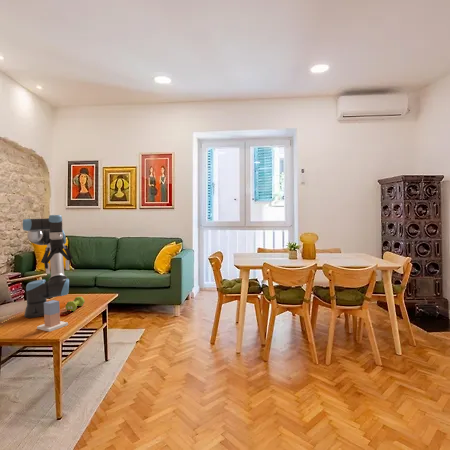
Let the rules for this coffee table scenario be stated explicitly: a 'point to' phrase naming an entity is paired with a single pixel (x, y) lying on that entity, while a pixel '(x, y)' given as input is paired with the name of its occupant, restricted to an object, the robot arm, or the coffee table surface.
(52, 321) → the terracotta block
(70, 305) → the dumbbell
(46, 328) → the baseboard
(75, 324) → the coffee table surface
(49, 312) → the slate block
